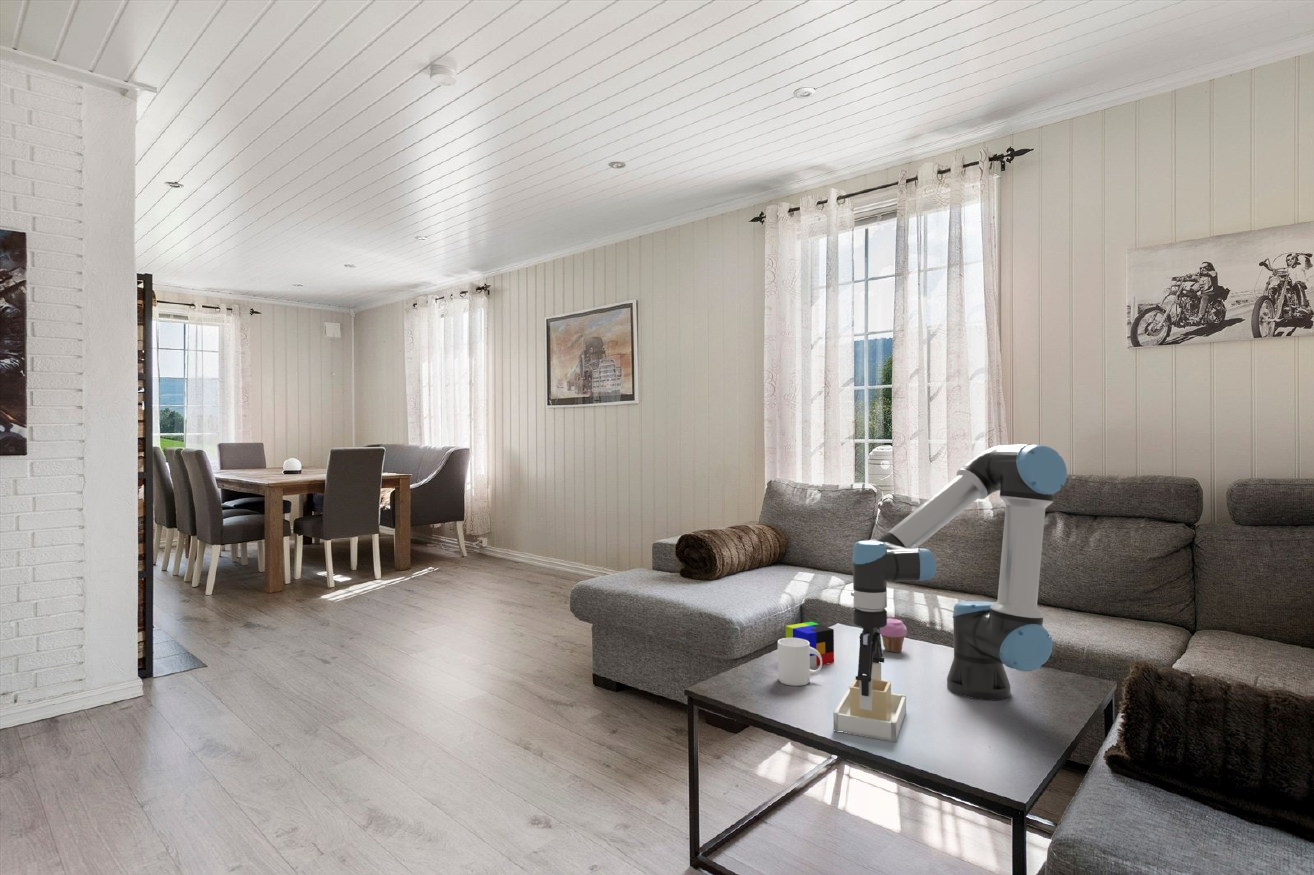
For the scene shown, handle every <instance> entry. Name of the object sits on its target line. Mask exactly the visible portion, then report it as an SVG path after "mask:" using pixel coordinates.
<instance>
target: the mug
mask: <svg viewBox="0 0 1314 875" xmlns="http://www.w3.org/2000/svg"><path fill="white" fill-rule="evenodd" d="M810 654H815V655H817V656H818V657H819V659H820V662H821V664H820V666H818V668H817V669H815V670H814V669H811V667H810ZM822 666H823V665H822V657H821V655H820V653H819V652H818V651H817V650H816V649H814V648H812V647H810V643H809V641H807V640H804V639H800V638H786V637H783V638H780V639H778V640H777V678H778V681H779V682H780V683H782V684H783V685H786V686H791V687H792V686H793V687H802V686H805V685H807V684H809V683H810V679H811V677H814V676H817V675H818V674H819V673H820V672H821V669H822Z"/></svg>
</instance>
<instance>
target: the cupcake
mask: <svg viewBox="0 0 1314 875" xmlns="http://www.w3.org/2000/svg"><path fill="white" fill-rule="evenodd" d="M907 635H908V628H907V626H906V625H905V624H904V622H903V621H902V620H900V619H898V618H897V619H896V618H887V625H886V626H885V627H882V628H880V636H881V641H882V645H883V648H884V649H885V651H886V652H887V651H888V652H895V653H900V652H902V650H903V644H904V641H905V638H906V636H907Z"/></svg>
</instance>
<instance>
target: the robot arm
mask: <svg viewBox="0 0 1314 875" xmlns="http://www.w3.org/2000/svg"><path fill="white" fill-rule="evenodd" d="M1067 477H1068V469H1067V466H1066V463H1065V460H1064V459H1063V457H1062V456H1061V455H1060V453H1059V452H1058V451H1057V450H1055V449H1054V448H1052V447H1050V446H1047V445H1043V444H1033V443H1032V444H1031V443H1027V444H1000V445H996V446H995V445H994V446H993V447H991V448H988V449H986V450H984V451H983V452H981V453H979V454H978V455H976V456H975V457H973V458H972V459H971V460H969V461H968V462H967V463H966V464H965V465H963V466H962V467H961V468H959V469H958V470H957V471H956V477H954V479H952V480H951V481H949V482H948V483H947V484H945V486H943V487H942V488H941V489H940V490H939V491H937V492H936V493H934V495H932V496H931V497H929V499H927V500H926V501H924V502H923V503H922V504H921V505H920V506H918V507H917V508H916V509H914V510H913V512H911V513H910V514H908V516H906V517H905V518H904V519H902V520H901V521H900V522H898V524H896V525H895V526H893V527H892V528H891V529H890V530H889V531H888V532H886V533H885V534H884V535H883V536H881V537H880V538H878V539H877V538H874V539H868V540H860V541H856V542H855V543H854V544H853V549H852V560H851V562H852V577H853V578H852V581H853V583H852V585H853V586H852V588H853V591H852V592H850V596H851V597H853V606H854V608H853V611H852V612H853V615H852V616H853V618H852V619H853V620H852V621H853V623H854V625H856V626H858V627H861V628H862V632H860V634H859V652H858V664H857V665H858V666H857V675H855V678H856V680H859V706H860V709H865V710H871V711H872V680H871V679H876V680H882V663H883V664H884V663H885V657H884V656H883V650H882V649H883V648H882V636H881V634H880V628H882V627H885V626H886V625H887V619H888V614H887V613H888V611H887V610H886V608H887V607H888V591H887V590H888V589H887V588H888V587H887V586H888V583H892V582H921V581H927V580H928V581H929V580H932V578H934V576H935V575H936V571H937V561H936V558H935V555H934V553H933V552H932V551H931V550H930V549H928V548H919V546H921V545H922V544H923V543H924V542H926V541H927V540H929V539H930V538H931V537H933V535H935V534H936V533H937V532H938V531H940V530H941V529H942V528H943V527H944V526H946V525H947V524H948V523H949V522H951V521H952V520H953V519H954V518H956V517H957V516H958V515H960V513H962V512H963V511H965V510H966V509H967V508H968V507H970V506H971V505H972V504H973V503H974V502H976V501H978V500H979V499H980V500H985V499H986V498H987V497H989V496H990V495H991V494H993V493H995V492H998V491H999V498H1000V499H1001V500H1002V501H1003V503H1004V504H1005V508H1004V509H1005V512H1004V522H1003V535H1002V546H1001V556H1000V569H999V578H998V592H997V600H996V601H987V600H986V601H985V600H983V601H982V600H981V601H980V600H976V601H974V600H969V601H968V600H967V601H959V602H957V603H955V604H954V605H953V612H952V619H953V620H952V621H953V624H952V625H953V659H952V662H951V665H950V668H949V671H948V674H947V676H946V686H947V689H949V691H951V692H952V693H954V694H957V695H959V696H962V697H966V698H969V699H975V700H976V699H977V700H983V701H999V700H1005V699H1008V698H1009V697H1010V696H1011V693H1012V692H1011V688H1012V687H1011V684H1010V680H1009V678H1008V675H1007V673H1006V670H1005V667H1007V668H1010V669H1014V670H1017V671H1019V672H1032V671H1035V670H1038V669H1040V668H1041V666H1042V665H1045V664H1046V662H1047V661H1048V660H1049V658H1050V656H1051V654H1052V652H1053V640H1052V636H1051V635H1050V634H1049V631H1048V630H1047V629H1046V628H1045V627H1044V626H1043V625H1044V624H1043V623H1044V614H1043V613H1042V612H1041V610H1040V609H1039V608H1038V599H1039V588H1040V587H1039V585H1040V577H1041V576H1040V575H1041V574H1040V573H1041V564H1042V563H1041V562H1042V552H1043V550H1042V549H1043V539H1044V530H1045V529H1044V528H1045V527H1044V526H1045V516H1046V509H1047V508H1048V507H1049V506H1050V505H1052V504H1053V503H1054V496H1055V494H1056V493H1058V492H1059V491H1060V490H1061V489H1062V487H1064V485H1065V484H1066V482H1067Z"/></svg>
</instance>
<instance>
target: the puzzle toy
mask: <svg viewBox="0 0 1314 875" xmlns="http://www.w3.org/2000/svg"><path fill="white" fill-rule="evenodd" d="M834 631H835V630H834V628H831V627H829V626H825V625H822V624H819V623H816V622H813V621H807V622H802V623H795V624H788V625H785V638H800V639H804V640H807V641H809V643H810V647H812V648H814V649H816V650H817V651H818V652H819V653H820V655H821V657H822V666H825V665H828V664H827V663H830V664H833V663H832V662H834V663H835V632H834ZM820 664H821V662H820V659H819V657H818V656H817V655H815V654H810V668H814V667H815V668H816V667H820ZM824 664H825V665H824Z"/></svg>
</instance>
